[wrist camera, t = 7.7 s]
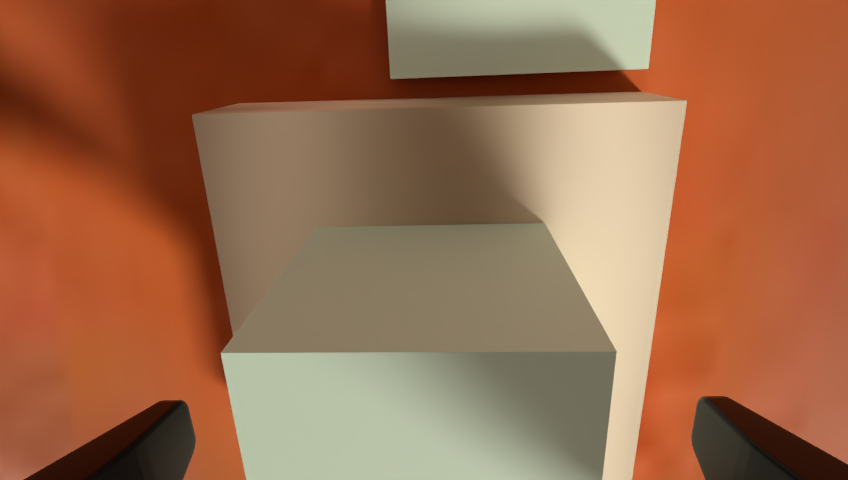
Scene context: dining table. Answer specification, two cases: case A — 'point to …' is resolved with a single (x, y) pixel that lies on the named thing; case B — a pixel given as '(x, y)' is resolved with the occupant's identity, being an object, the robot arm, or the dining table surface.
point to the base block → (460, 195)
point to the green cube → (423, 360)
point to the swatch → (516, 36)
